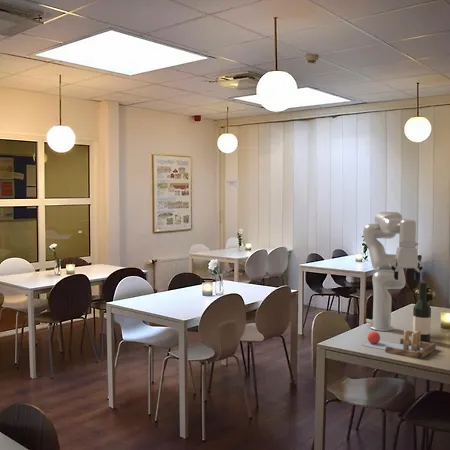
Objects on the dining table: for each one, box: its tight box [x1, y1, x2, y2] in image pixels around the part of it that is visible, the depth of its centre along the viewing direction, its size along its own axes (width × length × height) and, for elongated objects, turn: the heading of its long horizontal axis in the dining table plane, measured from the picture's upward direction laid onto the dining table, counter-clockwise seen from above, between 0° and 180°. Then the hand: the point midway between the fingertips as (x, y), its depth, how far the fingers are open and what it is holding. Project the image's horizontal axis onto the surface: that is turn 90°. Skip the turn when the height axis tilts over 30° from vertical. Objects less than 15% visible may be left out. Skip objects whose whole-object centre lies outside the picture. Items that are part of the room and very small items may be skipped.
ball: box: [367, 330, 381, 344], centre depth 266 cm, size 6×6×6 cm
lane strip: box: [362, 340, 423, 352], centre depth 260 cm, size 28×14×1 cm, turn 52°
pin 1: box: [410, 332, 417, 352], centre depth 252 cm, size 2×2×9 cm
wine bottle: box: [412, 280, 432, 343], centre depth 273 cm, size 8×8×30 cm
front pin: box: [402, 329, 410, 350], centre depth 256 cm, size 2×2×9 cm
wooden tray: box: [384, 337, 437, 360], centre depth 255 cm, size 16×21×3 cm
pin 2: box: [415, 331, 421, 351], centre depth 256 cm, size 2×2×9 cm
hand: (406, 279), depth 266 cm, fingers open, 9 cm apart
